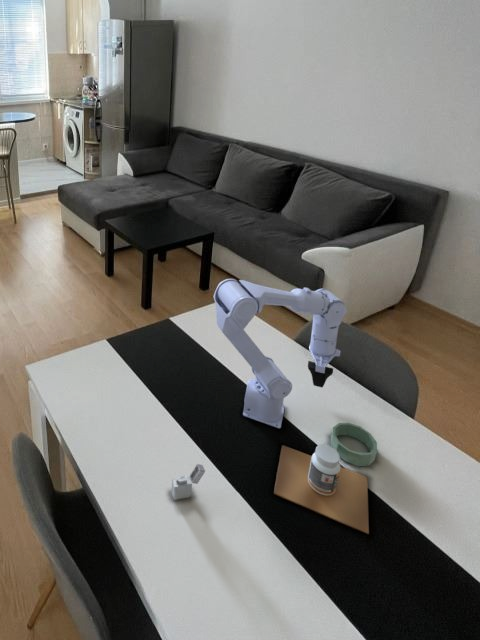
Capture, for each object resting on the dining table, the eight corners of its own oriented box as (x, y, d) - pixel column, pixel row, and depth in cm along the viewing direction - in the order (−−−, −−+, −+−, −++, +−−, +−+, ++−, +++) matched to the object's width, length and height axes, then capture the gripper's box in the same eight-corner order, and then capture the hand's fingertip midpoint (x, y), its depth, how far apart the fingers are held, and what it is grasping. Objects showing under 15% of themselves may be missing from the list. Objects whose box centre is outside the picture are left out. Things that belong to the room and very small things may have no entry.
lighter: (174, 500, 96) (174, 475, 93) (171, 492, 98) (172, 468, 95) (203, 494, 97) (205, 469, 94) (200, 487, 99) (202, 462, 96)
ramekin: (329, 455, 104) (332, 445, 103) (331, 427, 111) (333, 417, 110) (374, 472, 100) (377, 461, 98) (373, 442, 107) (376, 431, 105)
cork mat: (273, 494, 96) (273, 492, 96) (281, 446, 107) (282, 444, 107) (368, 534, 87) (368, 533, 87) (366, 477, 98) (367, 476, 98)
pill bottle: (339, 498, 94) (347, 466, 90) (311, 494, 95) (317, 463, 92) (330, 474, 99) (337, 443, 96) (304, 471, 100) (310, 440, 97)
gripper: (341, 356, 102) (335, 399, 107) (343, 322, 113) (337, 362, 118) (308, 349, 105) (303, 391, 110) (313, 316, 117) (308, 355, 122)
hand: (319, 375), depth 115 cm, fingers open, 7 cm apart
